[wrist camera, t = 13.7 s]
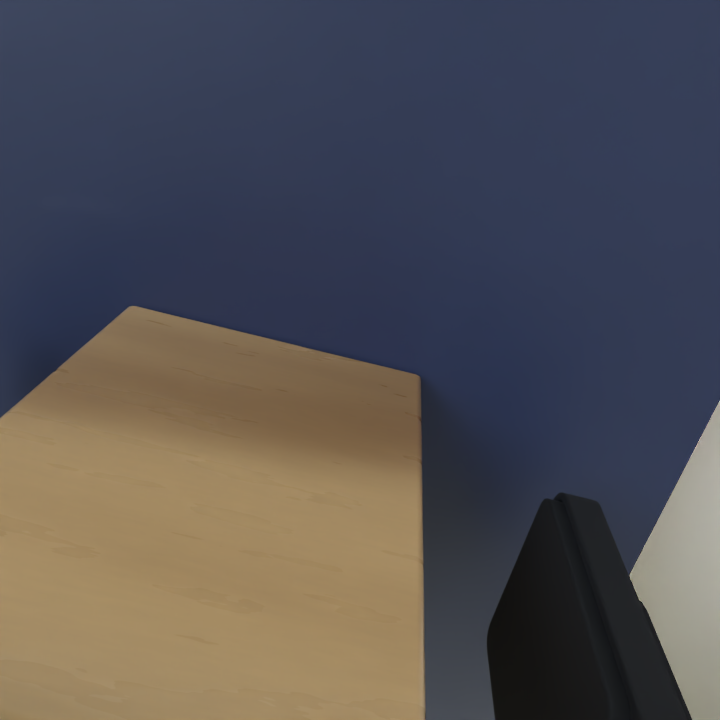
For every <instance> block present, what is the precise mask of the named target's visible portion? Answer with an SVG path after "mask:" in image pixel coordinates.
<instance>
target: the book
mask: <svg viewBox="0 0 720 720" xmlns="http://www.w3.org/2000/svg"><path fill="white" fill-rule="evenodd" d="M129 306H137V307H141V308H145V309H149V310H153V311H158V312H162V313H166V314H170V315H174V316H178V317H182V318H186V319H190V320H195V321H199V322H203V323H207V324H211V325H215V326H219V327H223V328H227V329H232V330H236V331H240V332H244V333H248V334H252V335H256V336H260V337H264V338H269V339H273V340H277V341H281V342H285V343H289V344H293V345H297V346H301V347H306V348H310V349H314V350H318V351H322V352H326V353H330V354H334V355H338V356H343V357H347V358H351V359H355V360H359V361H363V362H367V363H371V364H375V365H380V366H384V367H388V368H392V369H396V370H400V371H404V372H408V373H412V374H416V375H418V376H420V378H421V420H422V491H423V561H424V632H425V703H426V720H495V715H494V707H493V698H492V689H491V681H490V672H489V664H488V655H487V634H488V629H489V625H490V622H491V620H492V617H493V615H494V613H495V610H496V608H497V605H498V603H499V601H500V598H501V596H502V594H503V591H504V589H505V587H506V584H507V582H508V579H509V577H510V575H511V572H512V570H513V568H514V565H515V563H516V561H517V558H518V556H519V553H520V551H521V549H522V546H523V544H524V542H525V539H526V537H527V535H528V532H529V530H530V528H531V525H532V523H533V520H534V518H535V516H536V513H537V511H538V509H539V506H540V504H541V502H542V501H543V500H544V499H546V498H547V499H552V500H554V498H555V496H556V495H557V494H558V493H561V492H562V493H567V494H571V495H575V496H579V497H583V498H587V499H591V500H595V501H597V502H598V503H599V504H600V506H601V508H602V511H603V513H604V516H605V518H606V521H607V523H608V526H609V528H610V530H611V533H612V535H613V538H614V540H615V543H616V545H617V548H618V550H619V553H620V555H621V558H622V560H623V562H624V565H625V567H626V570H627V572H628V575H629V574H630V572H631V570H632V569H633V567H634V565H635V563H636V561H637V559H638V557H639V555H640V553H641V551H642V549H643V547H644V545H645V543H646V542H647V540H648V538H649V536H650V534H651V532H652V530H653V528H654V526H655V524H656V522H657V520H658V518H659V516H660V514H661V513H662V511H663V509H664V507H665V505H666V503H667V501H668V499H669V497H670V495H671V493H672V491H673V489H674V487H675V486H676V484H677V482H678V480H679V478H680V476H681V474H682V472H683V470H684V468H685V466H686V464H687V462H688V460H689V459H690V457H691V455H692V453H693V451H694V449H695V447H696V445H697V443H698V441H699V439H700V437H701V435H702V433H703V432H704V430H705V428H706V426H707V424H708V422H709V420H710V418H711V416H712V414H713V412H714V410H715V408H716V406H717V404H718V403H719V401H720V0H0V418H1V417H2V416H3V415H4V414H5V413H7V412H8V411H9V410H10V409H11V408H12V407H13V406H15V405H16V404H17V403H18V402H19V401H20V400H22V399H23V398H24V397H25V396H26V395H27V394H29V393H30V392H31V391H32V390H33V389H34V388H35V387H37V386H38V385H39V384H40V383H41V382H42V381H44V380H45V379H46V378H47V377H48V376H49V375H51V374H52V373H53V372H54V371H55V370H56V369H57V368H59V367H60V366H61V365H62V364H63V363H64V362H66V361H67V360H68V359H69V358H70V357H71V356H72V355H74V354H75V353H76V352H77V351H78V350H79V349H81V348H82V347H83V346H84V345H85V344H86V343H88V342H89V341H90V340H91V339H92V338H93V337H94V336H96V335H97V334H98V333H99V332H100V331H101V330H103V329H104V328H105V327H106V326H107V325H108V324H110V323H111V322H112V321H113V320H114V319H115V318H116V317H118V316H119V315H120V314H121V313H122V312H123V311H125V310H126V309H127V308H128V307H129Z"/></svg>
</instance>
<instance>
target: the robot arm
mask: <svg viewBox="0 0 720 720" xmlns="http://www.w3.org/2000/svg"><path fill="white" fill-rule="evenodd" d="M487 655H488V664H489V672H490V681H491V689H492V698H493V707H494V715H495V720H692V718H691V716H690V713H689V711H688V709H687V706H686V704H685V701H684V699H683V696H682V694H681V692H680V689H679V687H678V684H677V682H676V680H675V677H674V675H673V672H672V670H671V667H670V665H669V663H668V660H667V658H666V655H665V653H664V651H663V648H662V646H661V643H660V641H659V638H658V636H657V634H656V631H655V629H654V626H653V624H652V622H651V619H650V617H649V614H648V612H647V610H646V608H645V607H644V605H643V603H642V602H641V601H639V599H638V597H637V594H636V592H635V590H634V587H633V585H632V582H631V580H630V577H629V575H628V572H627V570H626V567H625V565H624V562H623V560H622V558H621V555H620V553H619V550H618V548H617V545H616V543H615V540H614V538H613V535H612V533H611V530H610V528H609V526H608V523H607V521H606V518H605V516H604V513H603V511H602V508H601V506H600V504H599V503H598V502H597V501H595V500H591V499H587V498H583V497H579V496H575V495H571V494H567V493H562V492H561V493H558V494H557V495H556V496H555V498H554V500H552V499H547V498H546V499H544V500H543V501H542V502H541V504H540V506H539V509H538V511H537V513H536V516H535V518H534V520H533V523H532V525H531V528H530V530H529V532H528V535H527V537H526V539H525V542H524V544H523V546H522V549H521V551H520V553H519V556H518V558H517V561H516V563H515V565H514V568H513V570H512V572H511V575H510V577H509V579H508V582H507V584H506V587H505V589H504V591H503V594H502V596H501V598H500V601H499V603H498V605H497V608H496V610H495V613H494V615H493V617H492V620H491V622H490V625H489V629H488V634H487Z"/></svg>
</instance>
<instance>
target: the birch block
mask: <svg viewBox="0 0 720 720" xmlns="http://www.w3.org/2000/svg"><path fill="white" fill-rule="evenodd" d="M0 720H426V703H425V632H424V561H423V491H422V420H421V378H420V376H418V375H416V374H412V373H408V372H404V371H400V370H396V369H392V368H388V367H384V366H380V365H375V364H371V363H367V362H363V361H359V360H355V359H351V358H347V357H343V356H338V355H334V354H330V353H326V352H322V351H318V350H314V349H310V348H306V347H301V346H297V345H293V344H289V343H285V342H281V341H277V340H273V339H269V338H264V337H260V336H256V335H252V334H248V333H244V332H240V331H236V330H232V329H227V328H223V327H219V326H215V325H211V324H207V323H203V322H199V321H195V320H190V319H186V318H182V317H178V316H174V315H170V314H166V313H162V312H158V311H153V310H149V309H145V308H141V307H137V306H129V307H128V308H127V309H126V310H125V311H123V312H122V313H121V314H120V315H119V316H118V317H116V318H115V319H114V320H113V321H112V322H111V323H110V324H108V325H107V326H106V327H105V328H104V329H103V330H101V331H100V332H99V333H98V334H97V335H96V336H94V337H93V338H92V339H91V340H90V341H89V342H88V343H86V344H85V345H84V346H83V347H82V348H81V349H79V350H78V351H77V352H76V353H75V354H74V355H72V356H71V357H70V358H69V359H68V360H67V361H66V362H64V363H63V364H62V365H61V366H60V367H59V368H57V369H56V370H55V371H54V372H53V373H52V374H51V375H49V376H48V377H47V378H46V379H45V380H44V381H42V382H41V383H40V384H39V385H38V386H37V387H35V388H34V389H33V390H32V391H31V392H30V393H29V394H27V395H26V396H25V397H24V398H23V399H22V400H20V401H19V402H18V403H17V404H16V405H15V406H13V407H12V408H11V409H10V410H9V411H8V412H7V413H5V414H4V415H3V416H2V417H1V418H0Z"/></svg>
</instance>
